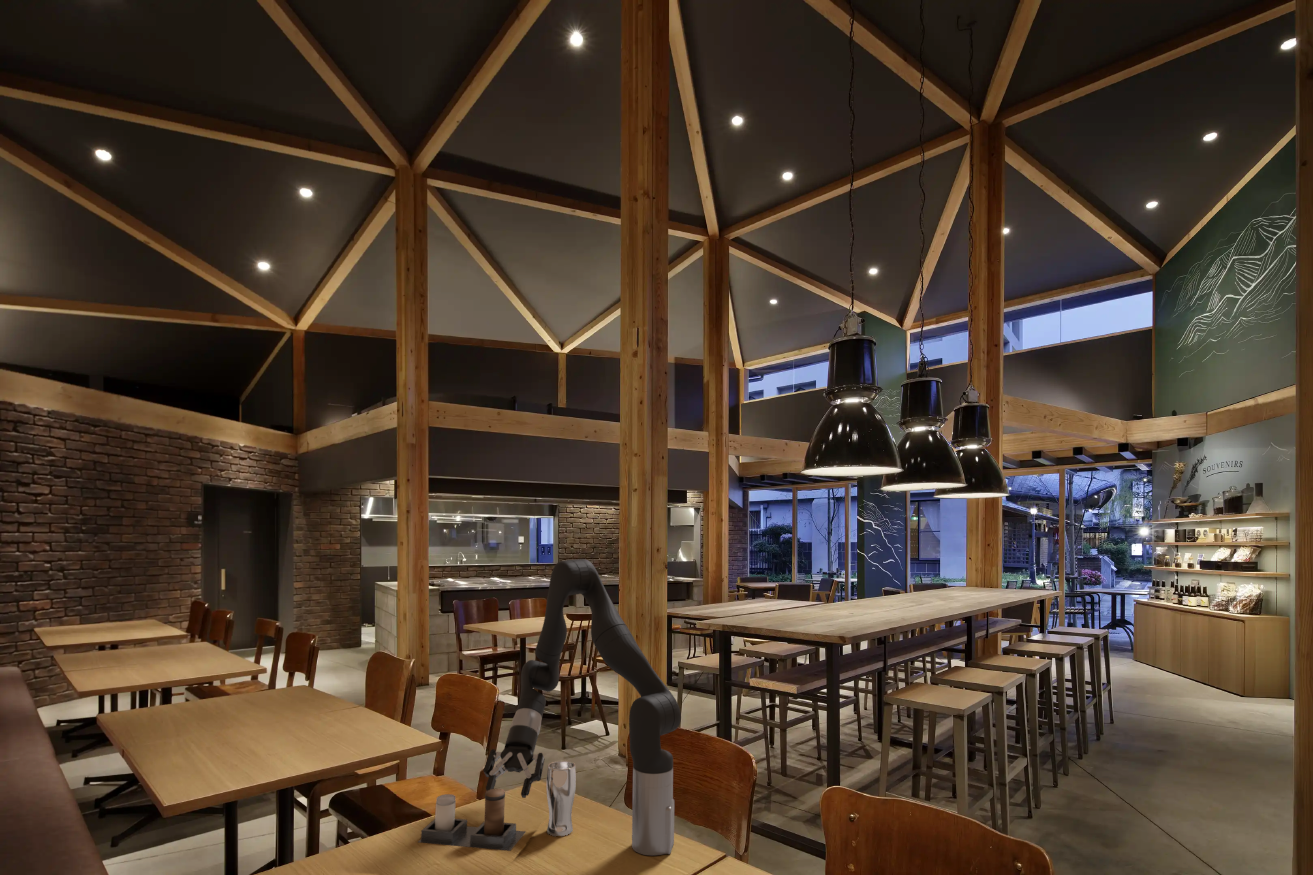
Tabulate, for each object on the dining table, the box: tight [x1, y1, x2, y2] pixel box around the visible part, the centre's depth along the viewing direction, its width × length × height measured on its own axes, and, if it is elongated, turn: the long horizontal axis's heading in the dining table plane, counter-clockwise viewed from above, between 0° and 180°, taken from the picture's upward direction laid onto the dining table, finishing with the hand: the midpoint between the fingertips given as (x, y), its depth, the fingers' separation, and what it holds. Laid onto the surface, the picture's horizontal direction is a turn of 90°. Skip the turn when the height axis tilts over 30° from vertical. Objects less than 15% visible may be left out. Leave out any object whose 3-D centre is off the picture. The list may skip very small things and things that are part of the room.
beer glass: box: [546, 760, 577, 837], centre depth 168 cm, size 7×7×15 cm
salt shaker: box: [434, 793, 457, 831], centre depth 163 cm, size 4×4×8 cm
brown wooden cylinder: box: [483, 788, 506, 836], centre depth 161 cm, size 4×4×10 cm
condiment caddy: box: [417, 818, 527, 852], centre depth 161 cm, size 22×10×3 cm, turn 81°
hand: (506, 794), depth 169 cm, fingers open, 8 cm apart
